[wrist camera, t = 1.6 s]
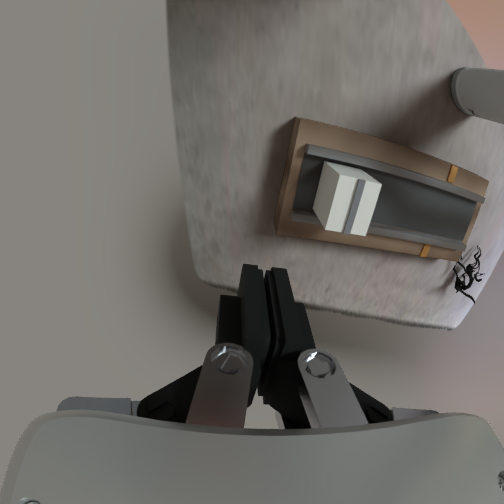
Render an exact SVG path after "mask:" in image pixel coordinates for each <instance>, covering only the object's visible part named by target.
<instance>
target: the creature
mask: <svg viewBox="0 0 504 504" xmlns="http://www.w3.org/2000/svg"><path fill="white" fill-rule="evenodd" d="M477 248H478V245H477ZM479 250H480V247H479ZM478 252H479V251H478ZM478 252H477V253H476V254H475V255H474V258H475V260H476V264H475V263H474V264H475V265H474V266H476V265H477V262H478V265H479V266H478V267H479V269H480V261H479V259H478V258H479V257H480V256H481V250H480V255H479V256H478V257H477V258H476V255H477V254H478ZM461 259H462V256H461ZM461 259H460V260H461ZM457 263H458V264H459V265H461V266H462V267H463V268H464V271H465V272H466V273H467V274H468V276H469V278H470V280H469V283H468V285H467V286H466V285H465V276H464V274H466V273H464V274H463V275H462V276H463V278H464V280H463V281H461V280H460V279H459V277H458V275H457V271H456V270H455V267H456V266H454V268H453V270H454V271H455V273H456V276H457V277H456V282H455V289H456V290H457V292H458V291H460V292H461V293H463V294H464V295H465V296H467V297H469V298H470V299H472V301H473V302H474V303H475V301H474V299H473V297H472V296H470V295H468V294H466V293H465V292H464V291H463V290H466V289H468V288H470V287H471V285H472V283H473V280H474V278H475V280H476V281H478V282H480V281H481V280H482V279H479V280H478V279H477V276H476V275H477V274H478V272H479V271H478V272H477V273H476V274H474V278H473V277H472V272H473V271H474V270H473V269H476V268H474V266H471V265H473V264H469V265H468V266H467V267H466V269H465V267H464V266H463V265H462V264H461V263H460V262H459V261H458V262H457ZM457 263H456V264H457ZM478 267H477V268H478ZM474 272H475V271H474ZM479 274H480V273H479ZM480 275H483V274H480ZM480 275H479V276H480ZM461 285H462V286H461ZM462 289H463V290H462ZM457 292H456V293H457Z"/></svg>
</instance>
